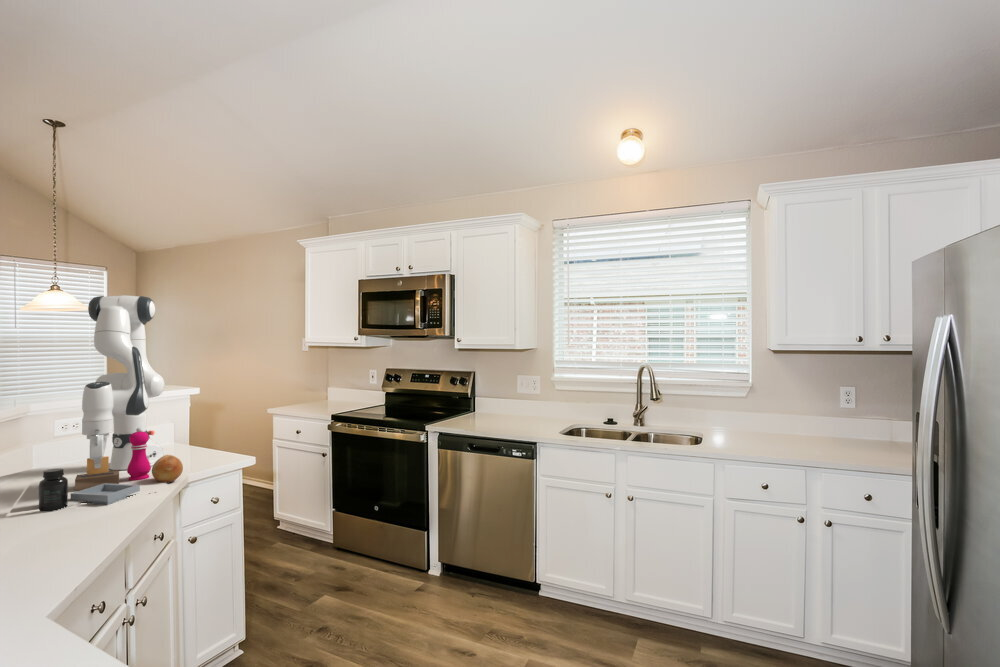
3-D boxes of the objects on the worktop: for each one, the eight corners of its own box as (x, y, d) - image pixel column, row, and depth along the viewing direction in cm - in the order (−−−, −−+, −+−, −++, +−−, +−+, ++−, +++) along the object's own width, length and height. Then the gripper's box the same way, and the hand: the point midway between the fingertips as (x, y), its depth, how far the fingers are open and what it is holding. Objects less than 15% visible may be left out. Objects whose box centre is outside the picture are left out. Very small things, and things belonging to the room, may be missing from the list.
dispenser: (77, 489, 183) (77, 473, 183) (119, 483, 190) (119, 468, 190) (75, 494, 176) (75, 478, 176) (118, 488, 183) (118, 472, 183)
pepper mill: (138, 484, 189) (138, 429, 189) (122, 483, 190) (122, 428, 190) (155, 478, 196) (155, 426, 196) (139, 477, 197) (139, 425, 197)
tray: (104, 491, 179) (104, 483, 179) (139, 493, 177) (139, 484, 177) (70, 502, 167) (70, 493, 167) (107, 504, 165) (107, 495, 165)
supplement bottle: (44, 506, 164) (45, 468, 164) (71, 503, 166) (71, 466, 166) (34, 513, 157) (34, 473, 158) (62, 510, 160) (62, 471, 160)
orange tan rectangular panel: (87, 486, 182) (87, 458, 182) (108, 484, 185) (108, 456, 185) (86, 487, 181) (86, 459, 181) (108, 484, 184) (108, 456, 184)
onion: (144, 484, 188) (144, 457, 188) (170, 477, 197) (170, 451, 197) (163, 487, 185) (163, 459, 185) (189, 480, 194) (189, 453, 194)
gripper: (108, 431, 177) (107, 471, 177) (110, 423, 193) (110, 460, 193) (84, 433, 173) (84, 474, 173) (88, 425, 190) (88, 462, 190)
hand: (97, 467), depth 183 cm, fingers closed on orange tan rectangular panel, 1 cm apart
